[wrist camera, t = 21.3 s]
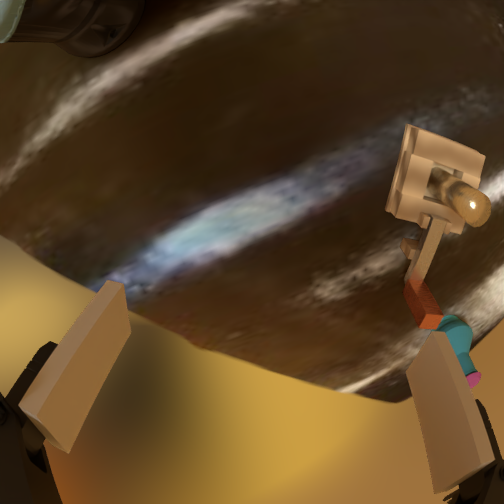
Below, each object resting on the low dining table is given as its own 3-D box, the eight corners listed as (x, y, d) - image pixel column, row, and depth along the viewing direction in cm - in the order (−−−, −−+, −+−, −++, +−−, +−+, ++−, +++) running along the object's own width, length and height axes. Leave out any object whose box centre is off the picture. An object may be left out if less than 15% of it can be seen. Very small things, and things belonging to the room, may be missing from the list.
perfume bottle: (417, 338, 52) (438, 397, 39) (445, 304, 47) (476, 361, 34) (444, 347, 53) (466, 401, 40) (471, 316, 48) (500, 369, 35)
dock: (406, 123, 34) (421, 127, 30) (475, 150, 34) (494, 158, 30) (374, 241, 43) (383, 258, 39) (441, 255, 43) (454, 271, 38)
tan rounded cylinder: (428, 163, 36) (472, 189, 25) (449, 170, 36) (495, 198, 25) (421, 189, 38) (460, 223, 27) (442, 195, 38) (484, 230, 27)
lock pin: (427, 213, 36) (458, 245, 28) (443, 217, 36) (476, 249, 28) (399, 286, 42) (418, 328, 34) (414, 288, 42) (436, 329, 34)
